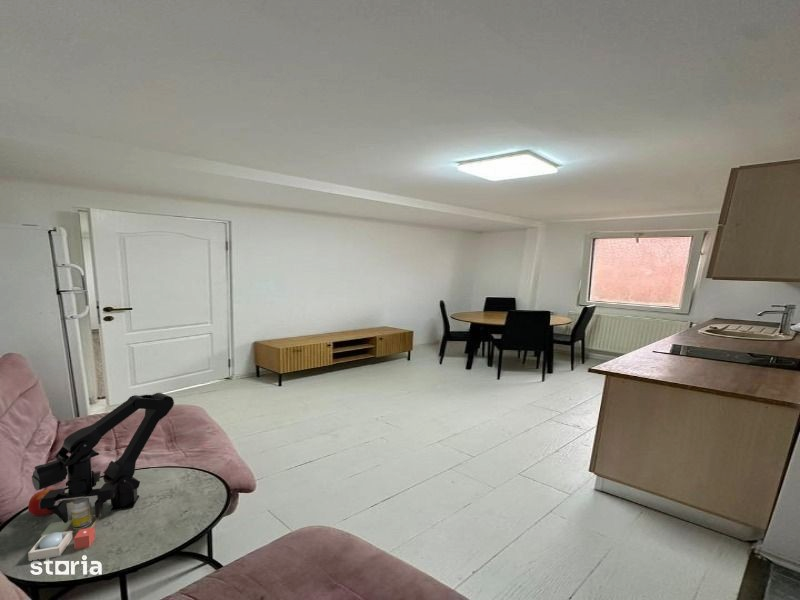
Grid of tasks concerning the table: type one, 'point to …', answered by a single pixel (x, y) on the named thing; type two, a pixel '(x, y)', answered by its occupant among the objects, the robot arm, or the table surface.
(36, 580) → the table surface
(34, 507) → the apple
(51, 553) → the tray
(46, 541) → the dome
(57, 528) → the pad
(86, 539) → the red die
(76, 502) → the supplement bottle
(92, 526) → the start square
